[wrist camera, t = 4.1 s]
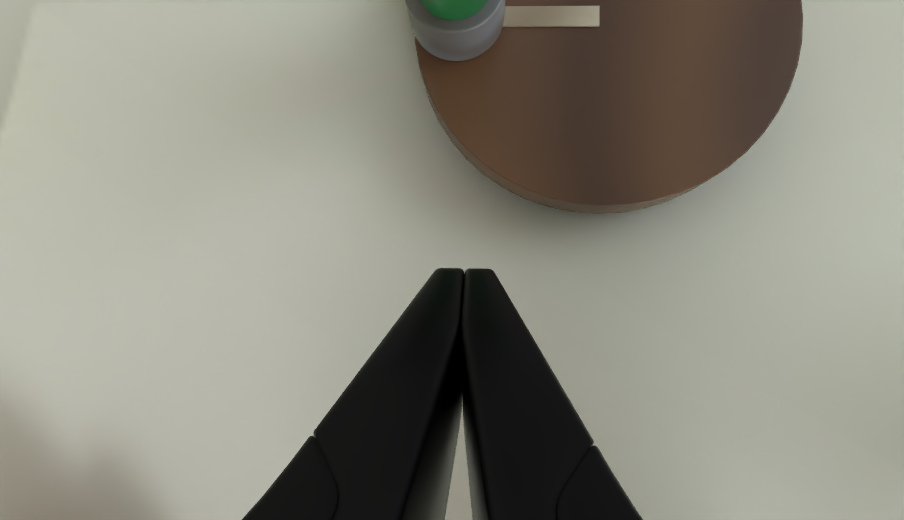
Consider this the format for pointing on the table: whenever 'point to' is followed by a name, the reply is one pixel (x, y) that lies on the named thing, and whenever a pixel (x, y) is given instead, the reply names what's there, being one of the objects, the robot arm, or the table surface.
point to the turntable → (605, 91)
